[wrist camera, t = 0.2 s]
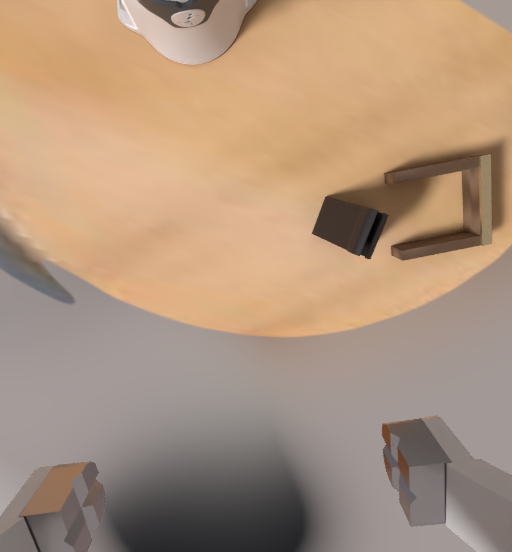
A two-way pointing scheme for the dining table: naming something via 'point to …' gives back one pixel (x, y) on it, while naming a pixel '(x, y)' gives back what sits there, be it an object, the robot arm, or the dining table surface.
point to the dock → (474, 206)
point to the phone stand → (350, 226)
